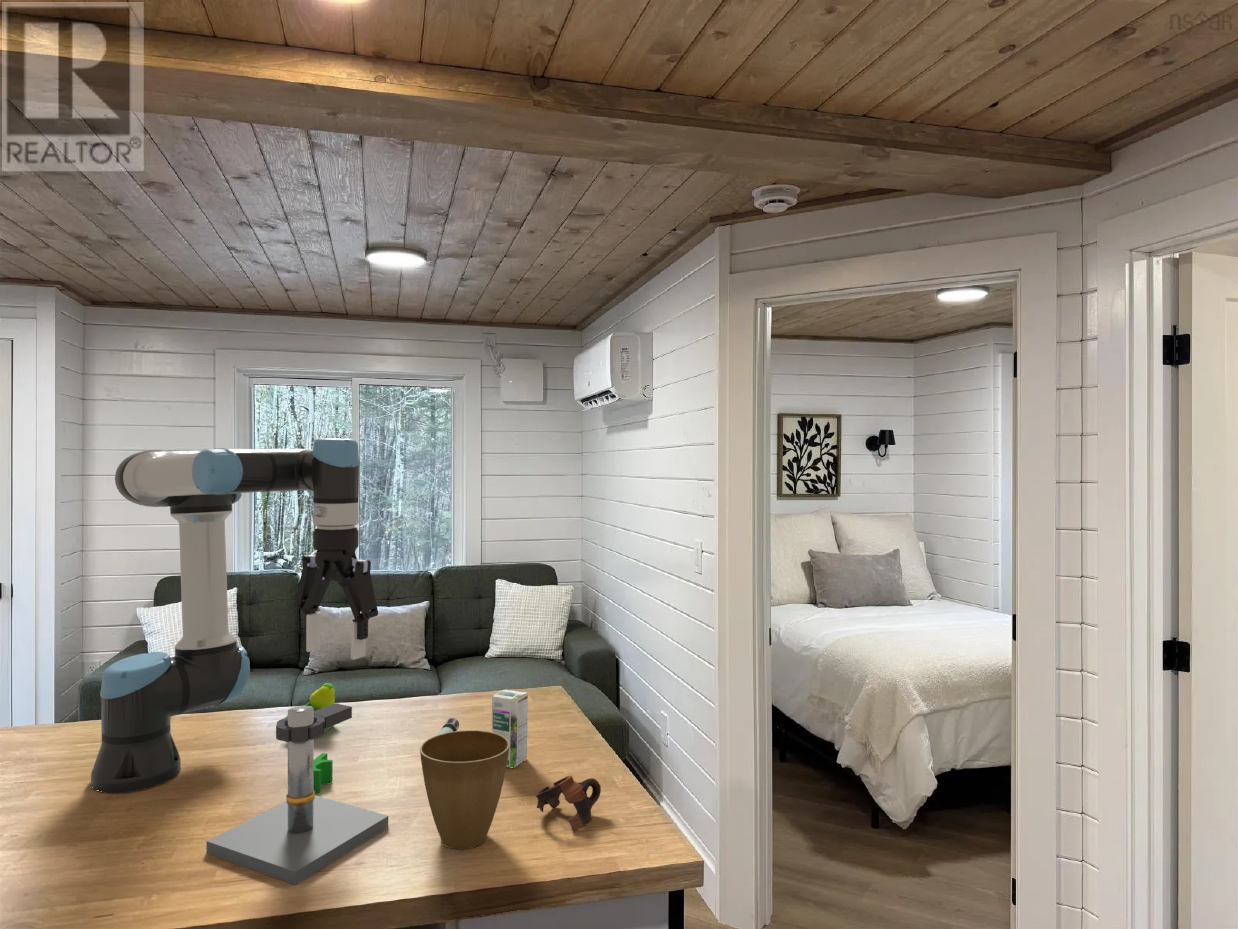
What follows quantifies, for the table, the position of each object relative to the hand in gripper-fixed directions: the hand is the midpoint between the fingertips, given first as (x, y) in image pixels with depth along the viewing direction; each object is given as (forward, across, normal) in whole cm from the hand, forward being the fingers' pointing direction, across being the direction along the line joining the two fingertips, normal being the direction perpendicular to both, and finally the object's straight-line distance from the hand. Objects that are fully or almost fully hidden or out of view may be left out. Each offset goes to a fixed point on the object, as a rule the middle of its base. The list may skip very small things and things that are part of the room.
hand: (335, 653), depth 138 cm
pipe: (+28, 0, -8) cm, 29 cm away
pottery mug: (+30, +36, +20) cm, 51 cm away
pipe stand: (+30, 0, -8) cm, 31 cm away
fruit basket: (+30, -36, +30) cm, 55 cm away
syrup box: (+30, +13, +35) cm, 48 cm away
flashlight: (+30, -4, +36) cm, 47 cm away
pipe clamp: (+30, -13, +8) cm, 34 cm away
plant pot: (+30, +24, +5) cm, 39 cm away
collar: (+12, 0, -5) cm, 13 cm away
